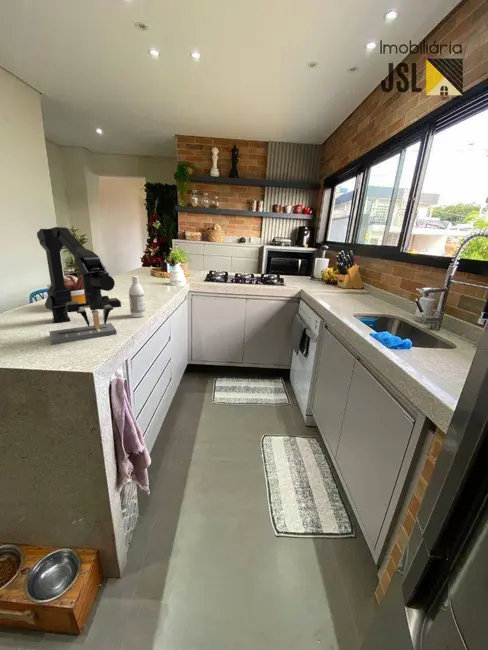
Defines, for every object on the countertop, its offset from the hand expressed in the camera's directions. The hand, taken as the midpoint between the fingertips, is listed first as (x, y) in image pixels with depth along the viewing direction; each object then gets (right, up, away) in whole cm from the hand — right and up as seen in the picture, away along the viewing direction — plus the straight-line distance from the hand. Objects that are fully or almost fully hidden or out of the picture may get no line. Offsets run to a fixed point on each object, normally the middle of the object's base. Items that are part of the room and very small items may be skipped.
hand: (97, 325), depth 108 cm
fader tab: (0, -1, 0) cm, 1 cm away
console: (-4, -4, -2) cm, 6 cm away
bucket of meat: (-31, +9, +34) cm, 47 cm away
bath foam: (+7, +4, +26) cm, 27 cm away
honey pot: (+5, +33, +112) cm, 117 cm away
